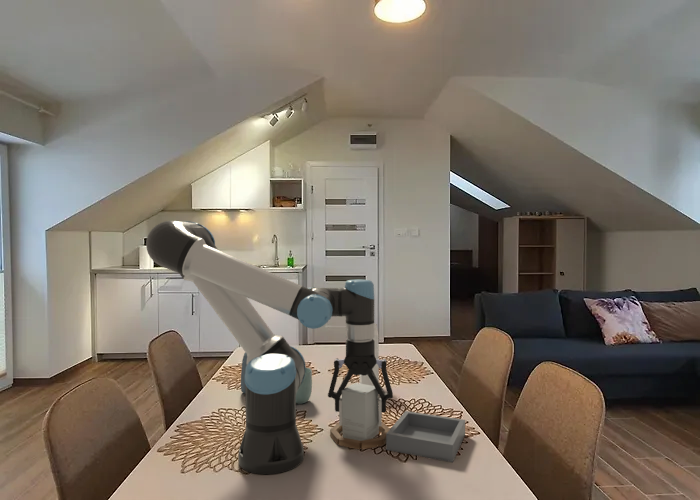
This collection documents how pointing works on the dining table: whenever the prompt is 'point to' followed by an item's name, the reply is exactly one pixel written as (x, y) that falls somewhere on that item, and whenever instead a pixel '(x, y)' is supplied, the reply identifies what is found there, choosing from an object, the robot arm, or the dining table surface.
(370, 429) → the supplement box
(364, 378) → the milk
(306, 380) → the cup
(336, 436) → the ring
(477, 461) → the dining table surface
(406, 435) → the bin
